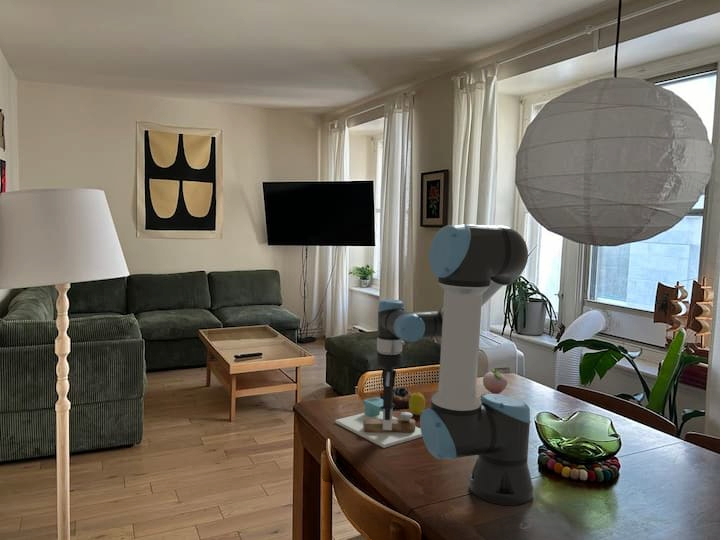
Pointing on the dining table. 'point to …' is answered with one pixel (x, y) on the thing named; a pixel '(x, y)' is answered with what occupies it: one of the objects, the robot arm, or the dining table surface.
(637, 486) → the dining table surface
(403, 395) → the pastry
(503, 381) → the decorative fruit
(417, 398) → the lemon
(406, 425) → the walnut link
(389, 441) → the plate
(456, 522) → the dining table surface
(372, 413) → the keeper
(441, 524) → the dining table surface
